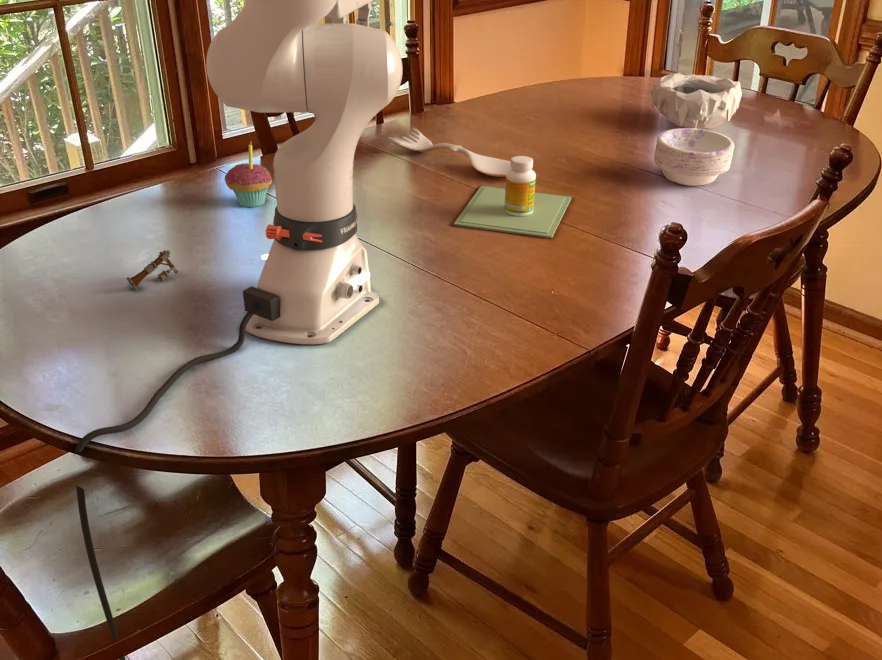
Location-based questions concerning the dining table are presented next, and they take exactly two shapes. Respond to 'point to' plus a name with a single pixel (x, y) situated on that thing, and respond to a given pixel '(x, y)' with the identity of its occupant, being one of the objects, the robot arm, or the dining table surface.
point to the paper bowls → (693, 155)
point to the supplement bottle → (520, 187)
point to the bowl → (696, 99)
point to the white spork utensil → (478, 161)
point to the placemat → (492, 216)
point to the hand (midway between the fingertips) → (352, 36)
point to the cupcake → (249, 182)
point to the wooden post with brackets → (151, 267)
